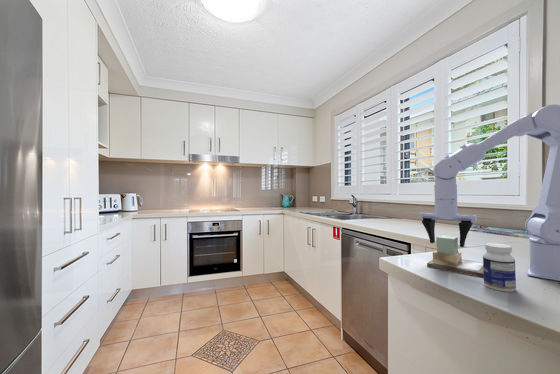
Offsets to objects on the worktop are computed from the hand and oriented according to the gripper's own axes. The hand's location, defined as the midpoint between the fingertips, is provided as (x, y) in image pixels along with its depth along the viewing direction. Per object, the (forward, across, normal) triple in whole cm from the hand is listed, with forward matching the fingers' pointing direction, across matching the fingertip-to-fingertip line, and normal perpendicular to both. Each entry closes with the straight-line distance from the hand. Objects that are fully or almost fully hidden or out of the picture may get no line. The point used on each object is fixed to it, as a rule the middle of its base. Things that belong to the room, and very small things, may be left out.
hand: (446, 244), depth 75 cm
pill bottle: (+7, -13, +11) cm, 18 cm away
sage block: (+2, 0, 0) cm, 2 cm away
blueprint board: (+6, -3, -1) cm, 7 cm away
